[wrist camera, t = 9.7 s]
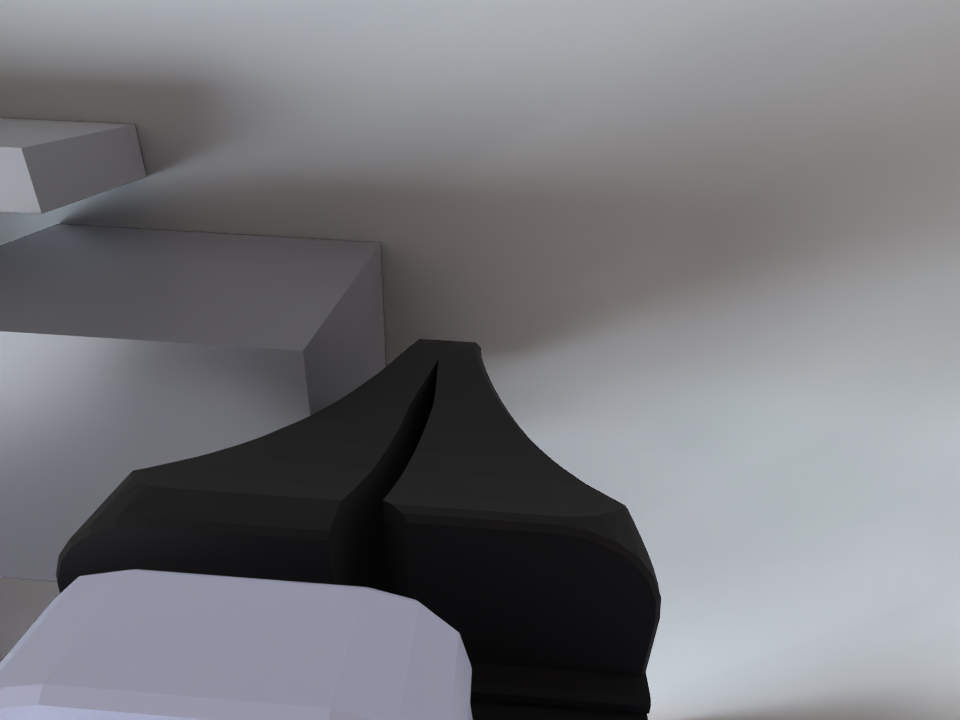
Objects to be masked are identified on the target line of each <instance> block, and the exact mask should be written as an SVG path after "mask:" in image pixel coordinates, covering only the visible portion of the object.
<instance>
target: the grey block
mask: <svg viewBox="0 0 960 720" xmlns="http://www.w3.org/2000/svg"><path fill="white" fill-rule="evenodd" d="M385 367H386V360H385V336H384V311H383V287H382V263H381V243H380V242H362V241H345V240H327V239H310V238H292V237H275V236H257V235H240V234H222V233H205V232H187V231H170V230H152V229H135V228H117V227H100V226H82V225H65V224H56V225H54V226H51V227H48V228H46V229H43V230H41V231H38V232H35V233H33V234H30V235H28V236H25V237H22V238H20V239H17V240H15V241H12V242H9V243H7V244H4V245H2V246H0V577H3V578H16V579H28V580H40V581H53V582H57V578H56V570H57V563H58V557H59V554H60V553H61V551H62V550H63V548H64V547H65V545H66V544H67V542H68V541H69V539H70V538H71V537H72V536H73V535H74V533H75V532H76V531H77V530H78V529H79V528H80V527H81V526H82V525H83V524H84V523H85V522H86V520H87V519H88V518H89V517H90V516H91V515H92V514H93V513H94V512H95V511H96V510H97V508H98V507H99V506H100V505H101V504H102V503H103V502H104V501H105V500H106V499H107V498H108V496H109V495H110V494H111V493H112V492H113V491H114V490H115V489H116V488H117V487H118V486H119V484H120V483H121V482H122V481H123V480H124V479H125V478H126V477H127V476H128V475H129V474H130V473H131V472H132V471H133V470H138V469H143V468H149V467H153V466H158V465H162V464H167V463H171V462H176V461H180V460H185V459H189V458H193V457H198V456H201V455H205V454H209V453H212V452H216V451H219V450H223V449H226V448H229V447H233V446H236V445H239V444H242V443H245V442H248V441H251V440H254V439H257V438H259V437H262V436H265V435H267V434H269V433H272V432H274V431H276V430H279V429H281V428H284V427H286V426H288V425H291V424H293V423H295V422H298V421H300V420H302V419H304V418H307V417H309V416H311V415H312V414H314V413H316V412H318V411H320V410H322V409H324V408H326V407H328V406H329V405H331V404H333V403H335V402H336V401H338V400H340V399H341V398H343V397H345V396H346V395H348V394H349V393H350V392H352V391H353V390H355V389H356V388H358V387H359V386H361V385H362V384H363V383H365V382H366V381H368V380H369V379H371V378H372V377H374V376H375V375H376V374H378V373H379V372H380V371H381V370H383V369H384V368H385Z"/></svg>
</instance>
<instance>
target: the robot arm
mask: <svg viewBox="0 0 960 720" xmlns="http://www.w3.org/2000/svg"><path fill="white" fill-rule="evenodd" d="M56 578H57V582H58V586H59V590H60V594H59V595H58V596H57V597H56V598H55V599H54V600H53V601H52V602H51V603H50V604H49V606H48V607H47V608H46V609H45V610H44V611H43V613H42V614H41V615H40V616H39V617H38V619H37V620H36V621H35V622H34V623H33V625H32V626H31V627H30V628H29V629H28V630H27V632H26V633H25V634H24V635H23V636H22V638H21V639H20V640H19V641H18V642H17V643H16V645H15V646H14V647H13V648H12V649H11V651H10V652H9V653H8V654H7V655H6V657H5V658H4V659H3V660H2V661H1V662H0V720H648V718H647V713H649V711H650V707H651V698H650V693H649V688H648V682H647V677H646V668H647V664H648V660H649V657H650V653H651V649H652V645H653V642H654V638H655V634H656V630H657V627H658V623H659V619H660V606H661V596H660V593H659V587H658V582H657V579H656V575H655V572H654V568H653V566H652V563H651V560H650V557H649V555H648V552H647V550H646V548H645V545H644V543H643V541H642V538H641V536H640V534H639V532H638V530H637V527H636V525H635V523H634V521H633V519H632V517H631V515H630V513H629V511H628V509H627V508H626V506H625V505H623V504H621V503H619V502H618V501H616V500H614V499H612V498H610V497H609V496H607V495H605V494H603V493H601V492H599V491H598V490H596V489H594V488H592V487H590V486H589V485H587V484H585V483H584V482H582V481H580V480H579V479H578V478H576V477H575V476H573V475H572V474H570V473H569V472H568V471H566V470H565V469H563V468H562V467H561V466H559V465H558V464H557V463H555V462H554V461H553V460H552V459H551V458H549V457H548V456H547V455H546V454H545V453H544V452H543V451H542V450H540V449H539V448H538V447H537V446H536V445H535V444H534V443H533V442H532V441H531V440H530V439H529V438H528V437H527V435H526V434H525V433H524V432H523V431H522V429H521V428H520V427H519V426H518V424H517V423H516V422H515V421H514V419H513V418H512V416H511V415H510V414H509V412H508V411H507V409H506V407H505V406H504V404H503V403H502V401H501V400H500V398H499V396H498V394H497V393H496V391H495V389H494V387H493V385H492V383H491V381H490V379H489V377H488V374H487V372H486V369H485V367H484V364H483V361H482V357H481V348H480V347H479V346H478V345H477V343H475V342H458V341H442V340H426V339H419V340H418V341H416V342H415V343H414V344H413V345H412V346H410V347H409V348H408V349H407V350H406V351H404V352H403V353H402V354H401V355H400V356H398V357H397V358H396V359H395V360H394V361H393V362H391V363H390V364H389V365H388V366H386V367H385V368H384V369H383V370H381V371H380V372H379V373H378V374H376V375H375V376H374V377H372V378H371V379H369V380H368V381H366V382H365V383H363V384H362V385H361V386H359V387H358V388H356V389H355V390H353V391H352V392H350V393H349V394H348V395H346V396H345V397H343V398H341V399H340V400H338V401H336V402H335V403H333V404H331V405H329V406H328V407H326V408H324V409H322V410H320V411H318V412H316V413H314V414H312V415H311V416H309V417H307V418H304V419H302V420H300V421H298V422H295V423H293V424H291V425H288V426H286V427H284V428H281V429H279V430H276V431H274V432H272V433H269V434H267V435H265V436H262V437H259V438H257V439H254V440H251V441H248V442H245V443H242V444H239V445H236V446H233V447H229V448H226V449H223V450H219V451H216V452H212V453H209V454H205V455H201V456H198V457H193V458H189V459H185V460H180V461H176V462H171V463H167V464H162V465H158V466H153V467H149V468H143V469H138V470H133V471H132V472H131V473H130V474H129V475H128V476H127V477H126V478H125V479H124V480H123V481H122V482H121V483H120V484H119V486H118V487H117V488H116V489H115V490H114V491H113V492H112V493H111V494H110V495H109V496H108V498H107V499H106V500H105V501H104V502H103V503H102V504H101V505H100V506H99V507H98V508H97V510H96V511H95V512H94V513H93V514H92V515H91V516H90V517H89V518H88V519H87V520H86V522H85V523H84V524H83V525H82V526H81V527H80V528H79V529H78V530H77V531H76V532H75V533H74V535H73V536H72V537H71V538H70V539H69V541H68V542H67V544H66V545H65V547H64V548H63V550H62V551H61V553H60V554H59V557H58V563H57V570H56Z"/></svg>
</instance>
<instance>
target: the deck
mask: <svg viewBox="0 0 960 720" xmlns="http://www.w3.org/2000/svg"><path fill="white" fill-rule="evenodd" d="M144 177H146V173H145V168H144V164H143V159H142V155H141V150H140V146H139V141H138V137H137V132H136V128H135V124H115V123H94V122H73V121H52V120H31V119H10V118H0V212H19V213H38V214H42V213H45V212H48V211H51V210H54V209H56V208H59V207H62V206H65V205H68V204H71V203H73V202H76V201H79V200H82V199H85V198H88V197H90V196H93V195H96V194H99V193H102V192H105V191H107V190H110V189H113V188H116V187H119V186H122V185H124V184H127V183H130V182H133V181H136V180H139V179H141V178H144Z"/></svg>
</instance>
